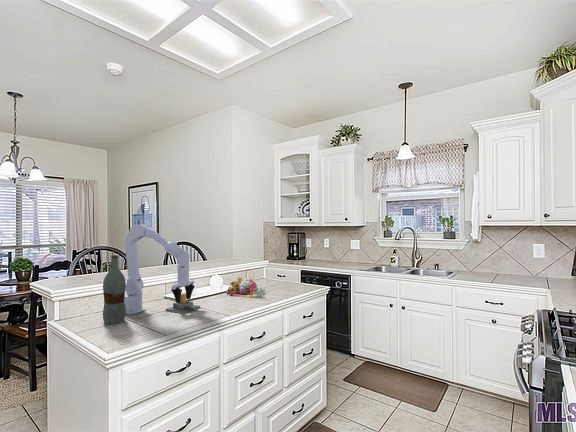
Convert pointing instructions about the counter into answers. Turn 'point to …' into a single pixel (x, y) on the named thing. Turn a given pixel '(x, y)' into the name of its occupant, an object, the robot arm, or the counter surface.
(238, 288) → the pastel sphere sculpture
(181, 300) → the round-ended pin
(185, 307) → the grey slotted socket block
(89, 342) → the counter surface
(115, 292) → the bottle
